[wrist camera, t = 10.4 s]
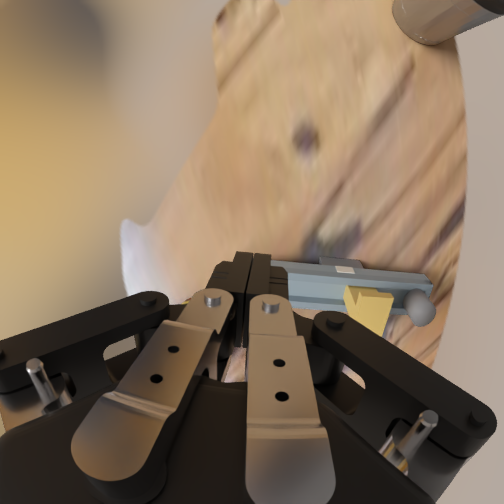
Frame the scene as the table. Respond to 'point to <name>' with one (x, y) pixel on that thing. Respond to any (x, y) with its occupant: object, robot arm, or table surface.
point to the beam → (352, 273)
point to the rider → (368, 306)
